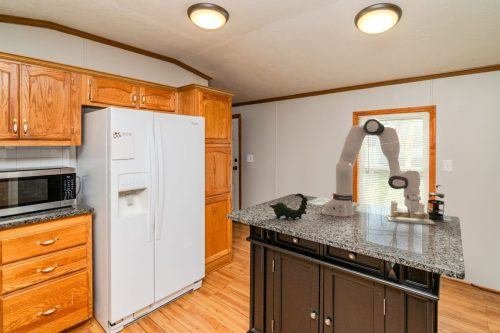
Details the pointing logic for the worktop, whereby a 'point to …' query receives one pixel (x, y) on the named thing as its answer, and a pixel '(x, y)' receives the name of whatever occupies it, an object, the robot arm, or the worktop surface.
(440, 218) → the french press
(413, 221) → the mat
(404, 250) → the worktop surface
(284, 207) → the toy figurine
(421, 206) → the rack
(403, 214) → the rail
